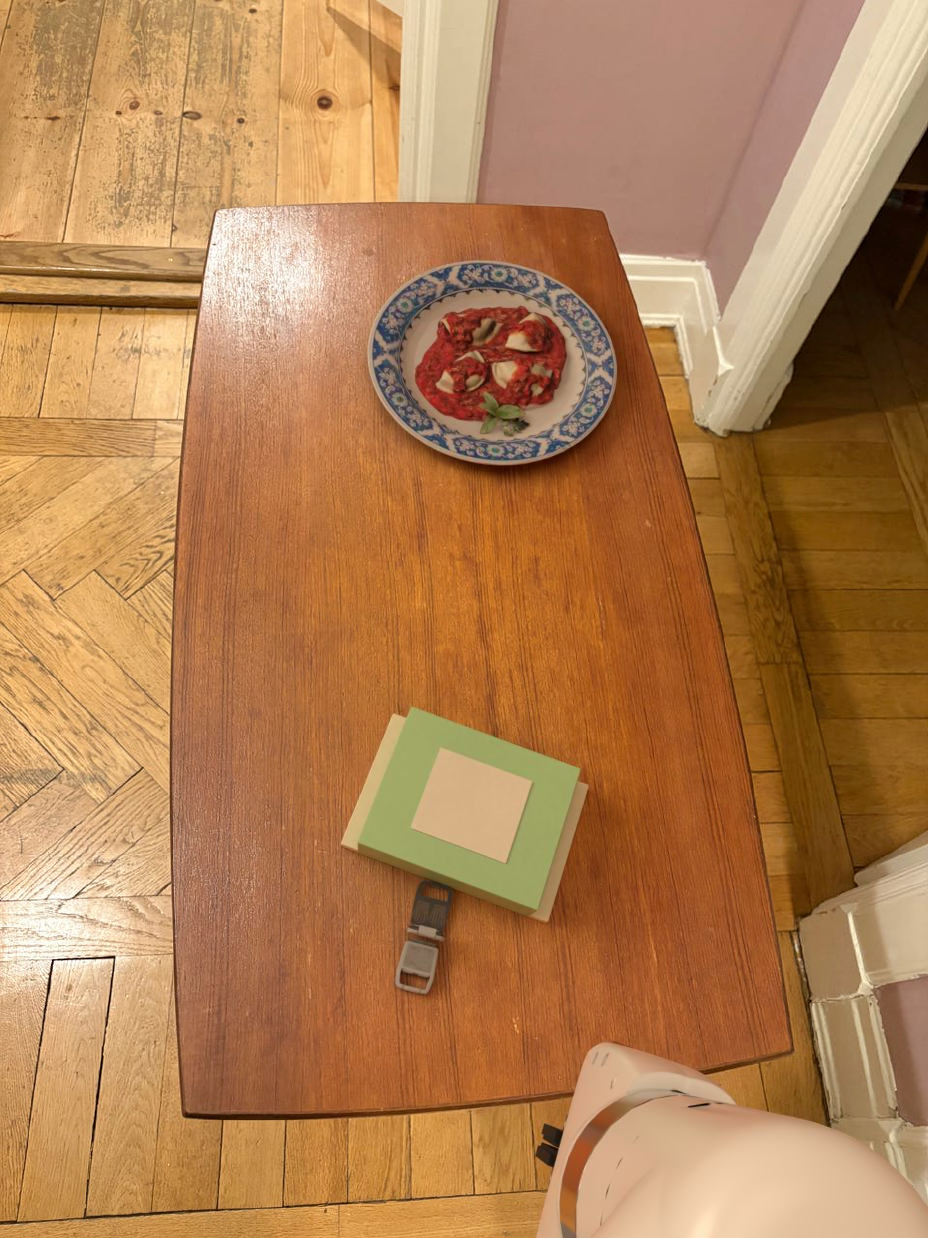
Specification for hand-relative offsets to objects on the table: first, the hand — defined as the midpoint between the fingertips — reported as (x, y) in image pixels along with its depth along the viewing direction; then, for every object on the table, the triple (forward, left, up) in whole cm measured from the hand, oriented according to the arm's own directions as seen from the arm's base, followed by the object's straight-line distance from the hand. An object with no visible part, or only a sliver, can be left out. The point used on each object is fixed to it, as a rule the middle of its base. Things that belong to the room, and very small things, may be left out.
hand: (567, 1150), depth 49 cm
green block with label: (+20, +10, -25) cm, 34 cm away
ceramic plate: (+65, +23, -25) cm, 73 cm away
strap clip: (+10, +10, -25) cm, 29 cm away
